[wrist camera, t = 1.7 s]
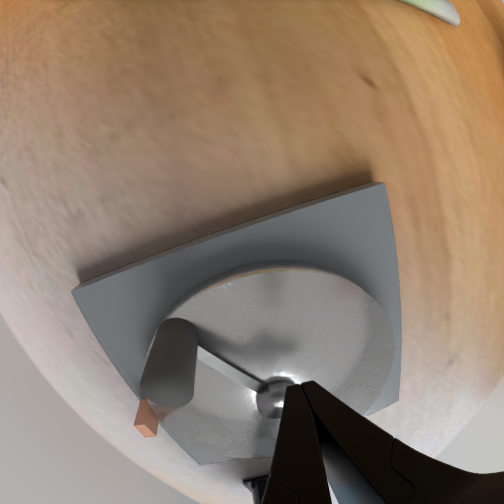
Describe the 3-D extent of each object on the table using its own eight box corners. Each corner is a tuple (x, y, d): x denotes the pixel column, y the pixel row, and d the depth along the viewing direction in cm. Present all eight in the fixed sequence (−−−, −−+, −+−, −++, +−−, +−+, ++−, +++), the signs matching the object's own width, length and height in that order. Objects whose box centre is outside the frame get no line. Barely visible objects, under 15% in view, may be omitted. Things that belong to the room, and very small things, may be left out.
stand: (392, 391, 24) (411, 418, 19) (199, 454, 23) (199, 486, 19) (373, 181, 17) (412, 186, 13) (79, 283, 17) (49, 311, 12)
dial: (414, 345, 20) (456, 388, 14) (272, 458, 22) (283, 507, 16) (265, 194, 15) (295, 208, 9) (107, 380, 17) (82, 441, 11)
